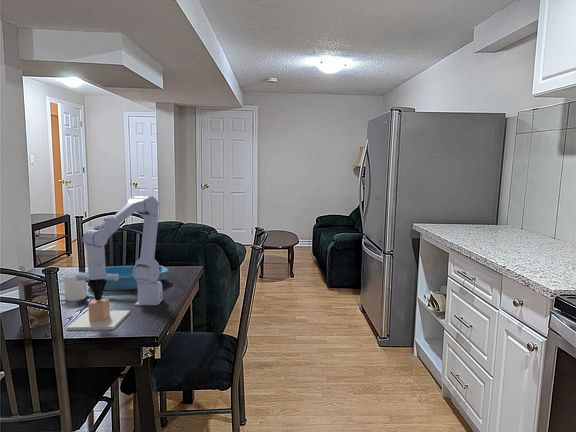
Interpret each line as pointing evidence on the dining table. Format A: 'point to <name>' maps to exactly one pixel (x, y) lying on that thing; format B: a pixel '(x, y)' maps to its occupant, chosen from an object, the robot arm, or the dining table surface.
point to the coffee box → (36, 294)
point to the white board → (99, 322)
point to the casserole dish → (125, 277)
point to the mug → (73, 287)
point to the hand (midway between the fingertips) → (98, 299)
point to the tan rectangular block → (99, 310)
